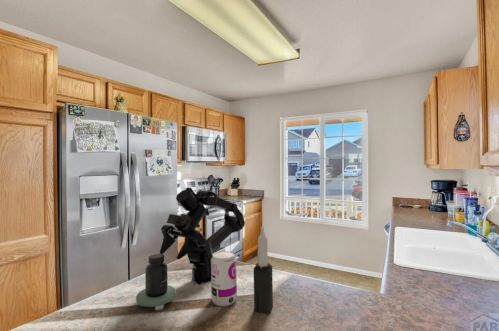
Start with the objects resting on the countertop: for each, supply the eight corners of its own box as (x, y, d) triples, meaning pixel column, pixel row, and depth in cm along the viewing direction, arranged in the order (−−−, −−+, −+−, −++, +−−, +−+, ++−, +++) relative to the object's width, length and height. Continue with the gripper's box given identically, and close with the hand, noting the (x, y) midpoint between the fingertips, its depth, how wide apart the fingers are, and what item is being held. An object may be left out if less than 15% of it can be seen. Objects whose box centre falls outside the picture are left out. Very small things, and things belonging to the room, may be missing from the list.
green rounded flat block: (170, 290, 94) (169, 282, 94) (180, 305, 84) (180, 295, 84) (133, 299, 88) (133, 290, 88) (139, 317, 77) (139, 307, 77)
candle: (273, 305, 83) (272, 225, 83) (269, 314, 78) (268, 229, 78) (258, 303, 84) (256, 224, 84) (253, 311, 80) (251, 228, 80)
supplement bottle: (167, 296, 84) (167, 258, 84) (144, 299, 82) (144, 260, 82) (167, 287, 90) (167, 251, 90) (146, 289, 88) (146, 253, 88)
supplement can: (241, 297, 88) (240, 252, 88) (228, 309, 81) (228, 260, 81) (220, 292, 92) (219, 249, 92) (206, 304, 84) (206, 257, 84)
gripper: (164, 203, 100) (137, 239, 91) (198, 207, 89) (172, 248, 80) (181, 220, 106) (158, 255, 97) (215, 226, 95) (192, 266, 86)
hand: (168, 256), depth 90 cm, fingers open, 9 cm apart
